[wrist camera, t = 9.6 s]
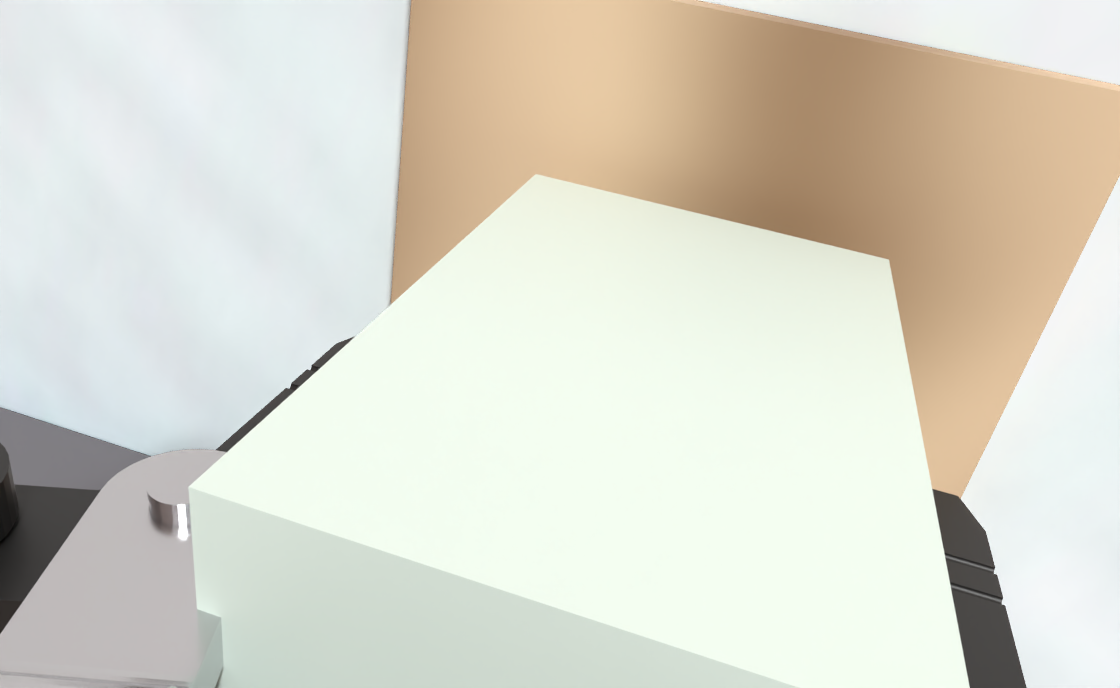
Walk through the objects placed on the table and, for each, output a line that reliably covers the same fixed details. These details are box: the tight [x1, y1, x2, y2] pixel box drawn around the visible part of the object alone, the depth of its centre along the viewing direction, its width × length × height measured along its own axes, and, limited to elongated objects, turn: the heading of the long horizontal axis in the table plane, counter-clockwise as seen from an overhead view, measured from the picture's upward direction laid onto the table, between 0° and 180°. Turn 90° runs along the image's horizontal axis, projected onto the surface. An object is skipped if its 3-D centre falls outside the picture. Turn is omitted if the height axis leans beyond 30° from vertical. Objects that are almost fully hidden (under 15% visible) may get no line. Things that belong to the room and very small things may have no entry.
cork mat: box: [391, 0, 1120, 498], centre depth 13 cm, size 9×9×1 cm
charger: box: [188, 174, 970, 688], centre depth 9 cm, size 4×4×7 cm
